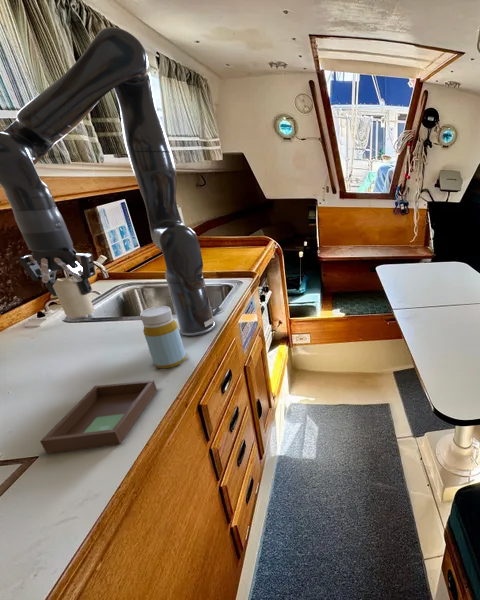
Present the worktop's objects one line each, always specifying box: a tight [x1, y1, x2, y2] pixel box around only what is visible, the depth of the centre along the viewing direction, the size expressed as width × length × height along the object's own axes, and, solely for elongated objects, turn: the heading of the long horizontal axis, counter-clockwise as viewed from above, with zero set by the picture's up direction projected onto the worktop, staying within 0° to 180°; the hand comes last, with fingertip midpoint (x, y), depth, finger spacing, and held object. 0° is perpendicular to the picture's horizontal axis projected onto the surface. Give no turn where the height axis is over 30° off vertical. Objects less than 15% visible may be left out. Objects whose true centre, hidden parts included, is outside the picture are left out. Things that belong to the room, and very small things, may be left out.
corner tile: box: [84, 414, 124, 433], centre depth 64 cm, size 7×7×1 cm
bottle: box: [139, 305, 187, 369], centre depth 82 cm, size 7×7×15 cm
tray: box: [39, 379, 158, 454], centre depth 66 cm, size 16×12×3 cm
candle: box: [53, 275, 95, 319], centre depth 82 cm, size 6×6×10 cm
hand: (72, 294), depth 82 cm, fingers closed on candle, 5 cm apart
